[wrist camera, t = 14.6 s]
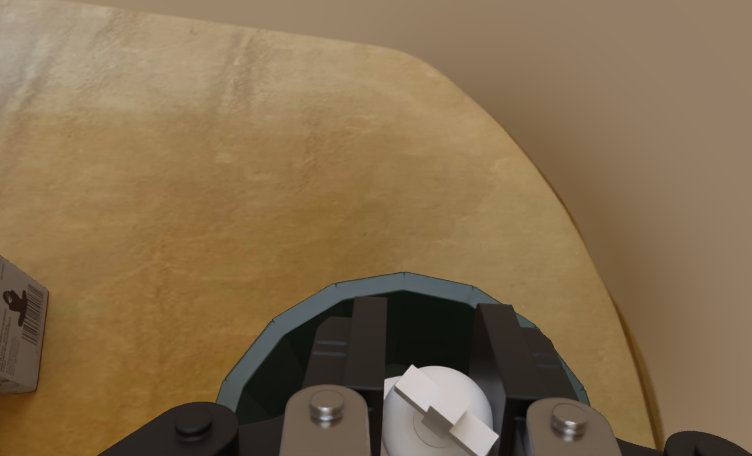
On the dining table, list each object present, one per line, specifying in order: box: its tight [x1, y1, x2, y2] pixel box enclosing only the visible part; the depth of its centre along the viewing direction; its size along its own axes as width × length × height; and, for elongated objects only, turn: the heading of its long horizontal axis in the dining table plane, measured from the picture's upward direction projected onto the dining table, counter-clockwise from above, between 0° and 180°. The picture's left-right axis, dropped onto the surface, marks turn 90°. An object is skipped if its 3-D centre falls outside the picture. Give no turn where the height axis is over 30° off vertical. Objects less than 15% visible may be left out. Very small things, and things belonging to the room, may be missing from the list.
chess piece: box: [380, 365, 499, 456], centre depth 13 cm, size 5×5×10 cm
